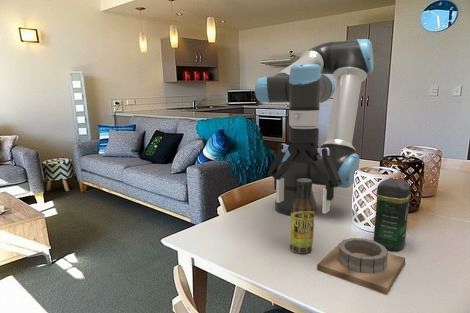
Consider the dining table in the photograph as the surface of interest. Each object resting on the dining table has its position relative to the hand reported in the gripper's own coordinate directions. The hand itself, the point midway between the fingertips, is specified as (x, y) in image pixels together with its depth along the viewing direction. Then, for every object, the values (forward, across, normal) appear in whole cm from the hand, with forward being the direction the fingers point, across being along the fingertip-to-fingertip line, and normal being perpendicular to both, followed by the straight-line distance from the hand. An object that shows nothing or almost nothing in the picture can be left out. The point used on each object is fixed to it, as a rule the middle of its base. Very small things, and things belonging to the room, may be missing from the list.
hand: (301, 206), depth 87 cm
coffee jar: (+13, +18, +18) cm, 29 cm away
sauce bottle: (+13, 0, 0) cm, 13 cm away
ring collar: (+13, +16, +2) cm, 20 cm away
